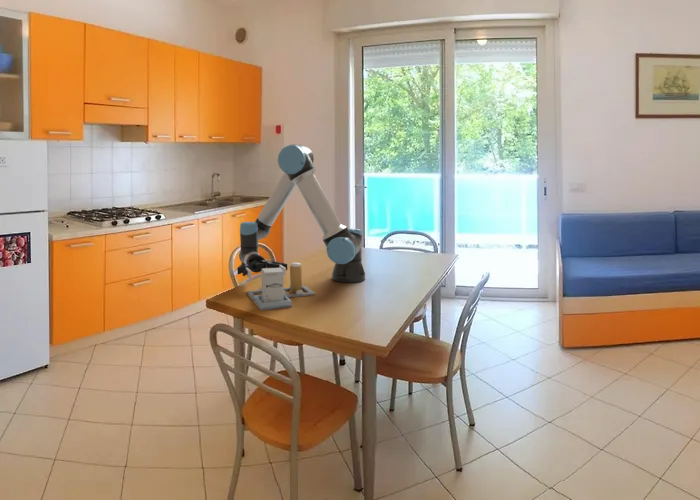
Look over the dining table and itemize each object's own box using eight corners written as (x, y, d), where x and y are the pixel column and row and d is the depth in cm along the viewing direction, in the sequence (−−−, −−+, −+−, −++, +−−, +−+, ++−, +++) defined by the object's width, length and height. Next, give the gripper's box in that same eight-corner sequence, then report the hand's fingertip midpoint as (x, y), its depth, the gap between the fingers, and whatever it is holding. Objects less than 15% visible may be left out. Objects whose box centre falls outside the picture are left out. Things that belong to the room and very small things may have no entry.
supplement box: (264, 305, 190) (263, 272, 187) (261, 300, 197) (261, 268, 194) (284, 304, 192) (283, 271, 189) (281, 298, 199) (280, 266, 196)
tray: (283, 298, 202) (283, 292, 201) (291, 307, 191) (291, 300, 191) (254, 301, 197) (254, 295, 197) (261, 310, 187) (260, 303, 186)
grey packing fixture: (305, 287, 218) (305, 283, 218) (314, 295, 207) (314, 290, 207) (246, 293, 209) (246, 288, 208) (253, 301, 198) (252, 296, 197)
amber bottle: (299, 290, 213) (299, 261, 211) (303, 293, 209) (302, 264, 207) (289, 291, 212) (288, 262, 209) (292, 294, 207) (291, 265, 205)
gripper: (283, 268, 223) (298, 279, 204) (225, 273, 213) (235, 285, 194) (283, 251, 222) (298, 261, 203) (224, 255, 212) (235, 266, 193)
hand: (268, 273), depth 199 cm, fingers open, 13 cm apart
